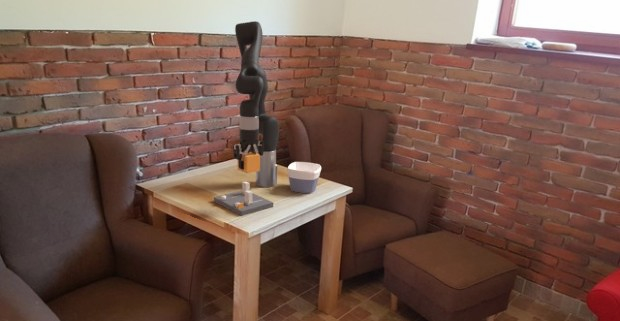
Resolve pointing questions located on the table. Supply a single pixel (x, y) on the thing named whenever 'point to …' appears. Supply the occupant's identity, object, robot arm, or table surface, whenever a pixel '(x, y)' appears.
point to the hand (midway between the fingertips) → (248, 167)
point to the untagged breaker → (245, 187)
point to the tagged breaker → (248, 198)
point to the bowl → (303, 176)
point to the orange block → (251, 163)
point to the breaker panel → (236, 203)
